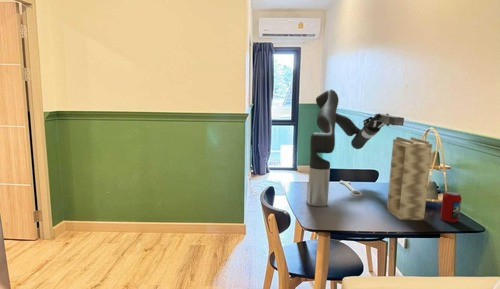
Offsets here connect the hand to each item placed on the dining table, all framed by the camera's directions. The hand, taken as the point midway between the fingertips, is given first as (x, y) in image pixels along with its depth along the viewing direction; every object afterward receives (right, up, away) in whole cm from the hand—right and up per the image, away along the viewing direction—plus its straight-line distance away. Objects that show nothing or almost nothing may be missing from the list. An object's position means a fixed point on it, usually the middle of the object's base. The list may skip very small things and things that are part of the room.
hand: (383, 115), depth 171 cm
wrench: (-10, -39, +21) cm, 45 cm away
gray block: (0, -4, -4) cm, 6 cm away
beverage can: (+18, -46, -24) cm, 55 cm away
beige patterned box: (+2, -45, -18) cm, 48 cm away
